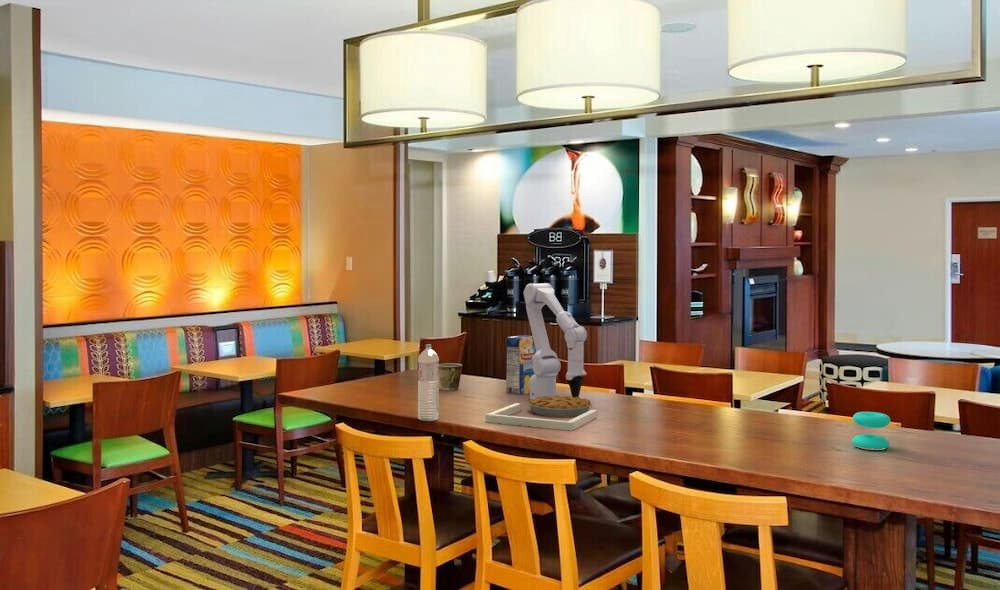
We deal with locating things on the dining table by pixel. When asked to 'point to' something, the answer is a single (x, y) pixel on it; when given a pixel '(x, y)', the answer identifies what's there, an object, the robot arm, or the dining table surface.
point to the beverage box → (519, 364)
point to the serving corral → (537, 419)
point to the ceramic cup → (450, 375)
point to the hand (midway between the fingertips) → (575, 397)
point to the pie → (559, 406)
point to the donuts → (871, 422)
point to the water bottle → (428, 385)
